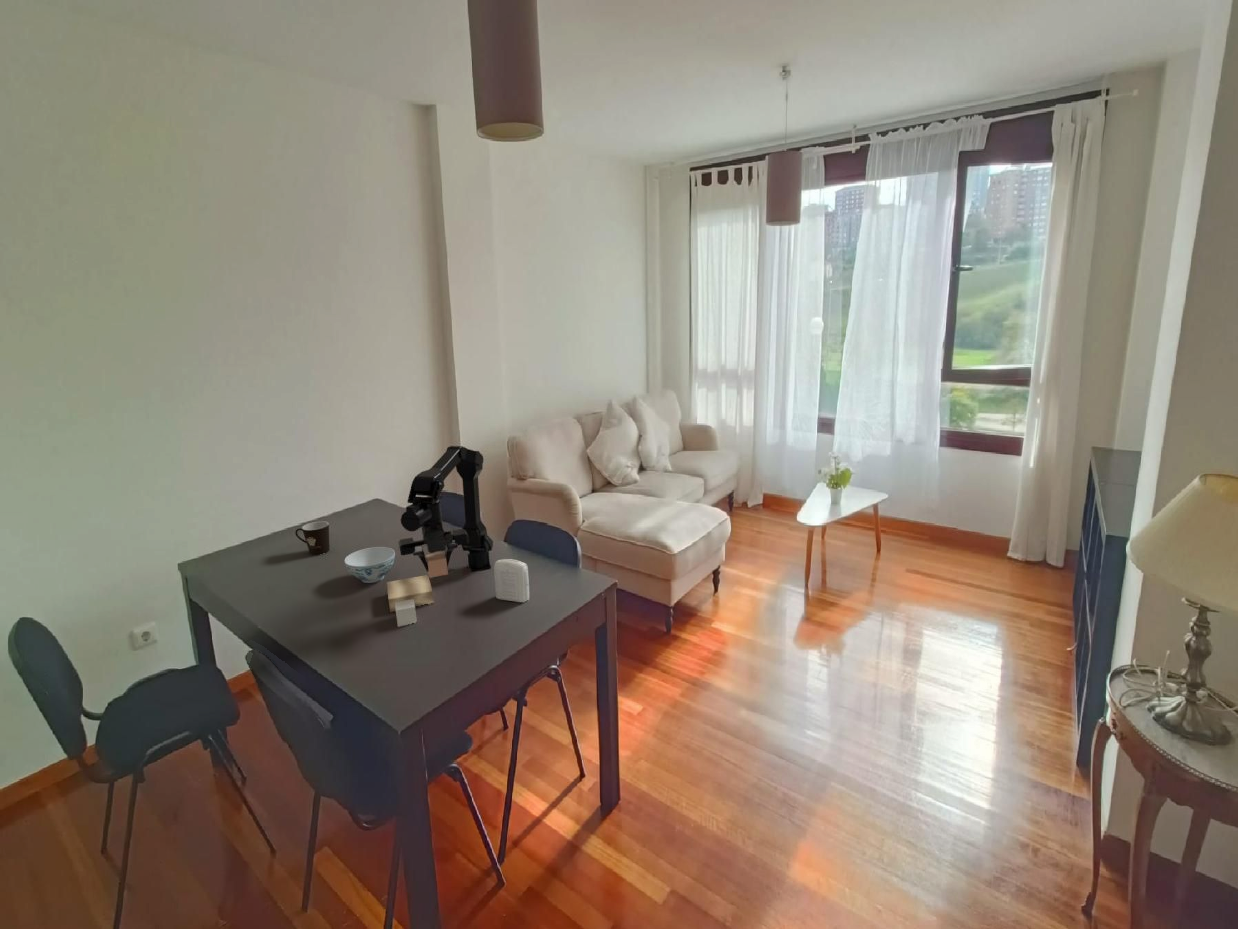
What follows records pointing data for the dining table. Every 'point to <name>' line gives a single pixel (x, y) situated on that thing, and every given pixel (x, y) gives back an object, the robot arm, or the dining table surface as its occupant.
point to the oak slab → (410, 591)
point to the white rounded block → (511, 580)
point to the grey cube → (405, 612)
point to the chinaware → (370, 563)
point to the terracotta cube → (436, 564)
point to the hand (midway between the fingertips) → (437, 569)
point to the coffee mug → (316, 537)
